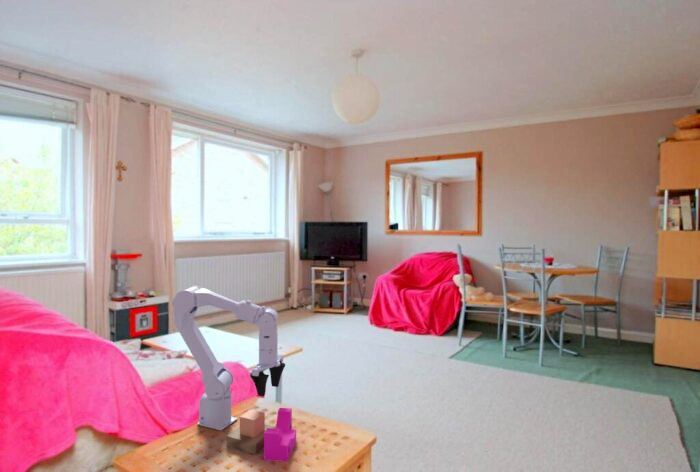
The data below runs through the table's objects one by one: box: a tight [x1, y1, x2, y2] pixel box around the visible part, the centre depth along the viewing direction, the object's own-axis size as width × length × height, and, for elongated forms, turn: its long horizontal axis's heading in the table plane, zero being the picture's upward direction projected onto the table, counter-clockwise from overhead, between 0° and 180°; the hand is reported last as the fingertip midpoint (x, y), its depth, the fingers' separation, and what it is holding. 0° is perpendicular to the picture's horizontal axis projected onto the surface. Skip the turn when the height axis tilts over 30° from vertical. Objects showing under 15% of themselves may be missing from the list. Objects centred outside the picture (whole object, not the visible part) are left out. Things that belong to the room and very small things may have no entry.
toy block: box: [263, 407, 297, 462], centre depth 118 cm, size 15×6×8 cm, turn 174°
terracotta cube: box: [239, 409, 266, 438], centre depth 120 cm, size 5×5×5 cm
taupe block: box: [226, 424, 276, 455], centre depth 120 cm, size 10×10×3 cm
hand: (268, 390), depth 131 cm, fingers open, 7 cm apart
